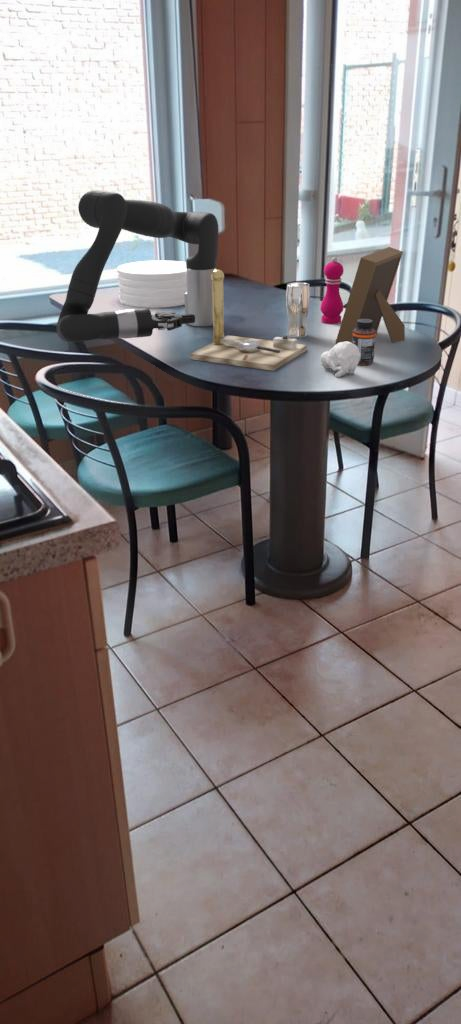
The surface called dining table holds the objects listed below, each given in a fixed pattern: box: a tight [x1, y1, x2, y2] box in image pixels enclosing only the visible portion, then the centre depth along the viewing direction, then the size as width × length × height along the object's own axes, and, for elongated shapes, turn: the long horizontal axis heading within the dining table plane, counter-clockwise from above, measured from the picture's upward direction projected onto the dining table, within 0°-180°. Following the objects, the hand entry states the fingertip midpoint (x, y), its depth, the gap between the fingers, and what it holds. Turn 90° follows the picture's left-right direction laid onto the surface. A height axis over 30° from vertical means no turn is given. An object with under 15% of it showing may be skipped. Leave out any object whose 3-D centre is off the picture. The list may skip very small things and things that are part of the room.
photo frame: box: [335, 246, 406, 345], centre depth 220 cm, size 15×22×25 cm
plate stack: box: [116, 260, 187, 309], centre depth 279 cm, size 28×28×12 cm
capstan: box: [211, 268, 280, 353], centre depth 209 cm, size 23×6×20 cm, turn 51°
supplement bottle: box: [352, 319, 377, 366], centre depth 204 cm, size 6×6×11 cm
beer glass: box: [285, 281, 311, 339], centre depth 229 cm, size 7×7×15 cm
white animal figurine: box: [319, 341, 361, 378], centre depth 197 cm, size 6×8×12 cm
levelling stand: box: [189, 335, 308, 372], centre depth 213 cm, size 25×22×5 cm
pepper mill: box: [320, 256, 344, 325], centre depth 243 cm, size 7×7×20 cm
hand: (194, 318), depth 213 cm, fingers closed
